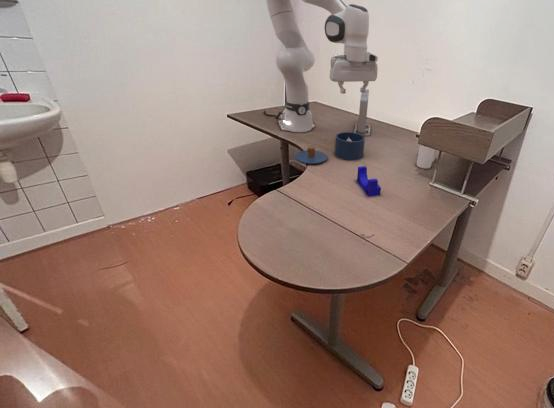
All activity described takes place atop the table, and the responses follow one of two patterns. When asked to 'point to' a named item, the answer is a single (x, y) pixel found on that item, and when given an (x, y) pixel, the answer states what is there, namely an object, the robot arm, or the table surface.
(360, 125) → the network device
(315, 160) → the pail lid
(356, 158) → the pail
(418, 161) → the can
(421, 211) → the table surface
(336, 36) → the robot arm
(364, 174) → the blue l-shaped block
